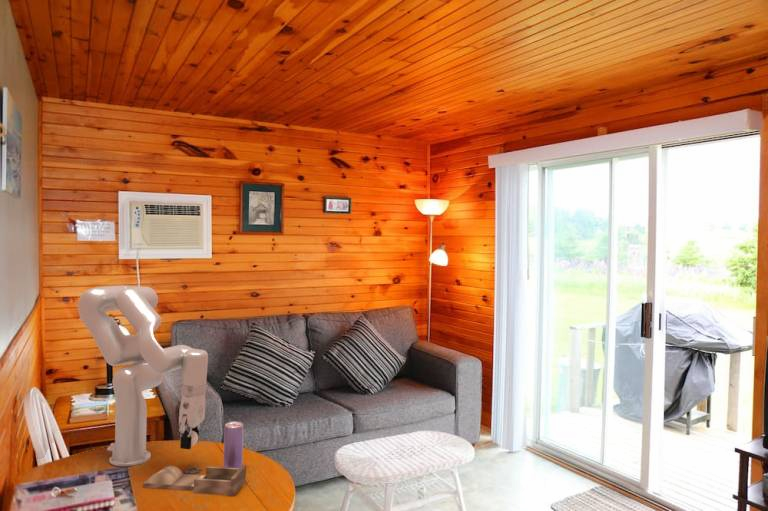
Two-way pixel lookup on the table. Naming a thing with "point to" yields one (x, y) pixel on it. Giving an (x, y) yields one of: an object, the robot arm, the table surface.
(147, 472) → the table surface
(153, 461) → the table surface
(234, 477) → the lane
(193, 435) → the ball
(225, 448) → the beverage can
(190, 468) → the grey piece
